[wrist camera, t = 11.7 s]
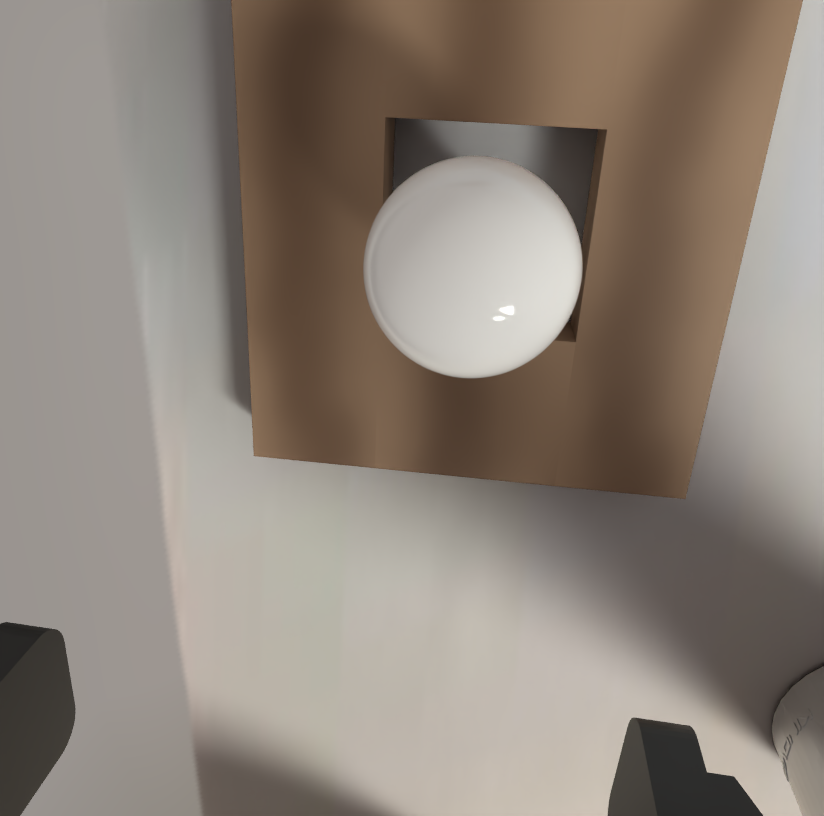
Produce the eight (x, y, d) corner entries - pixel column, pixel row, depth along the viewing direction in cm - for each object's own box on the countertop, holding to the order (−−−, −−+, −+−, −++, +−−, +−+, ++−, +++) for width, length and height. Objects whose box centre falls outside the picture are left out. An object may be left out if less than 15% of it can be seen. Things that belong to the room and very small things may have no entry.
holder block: (793, -73, 23) (824, -90, 21) (672, 469, 32) (685, 498, 29) (251, -89, 25) (225, -107, 23) (271, 430, 33) (253, 456, 31)
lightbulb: (463, 101, 27) (438, 110, 17) (597, 205, 28) (649, 273, 18) (368, 241, 29) (298, 322, 19) (494, 332, 30) (489, 455, 20)
